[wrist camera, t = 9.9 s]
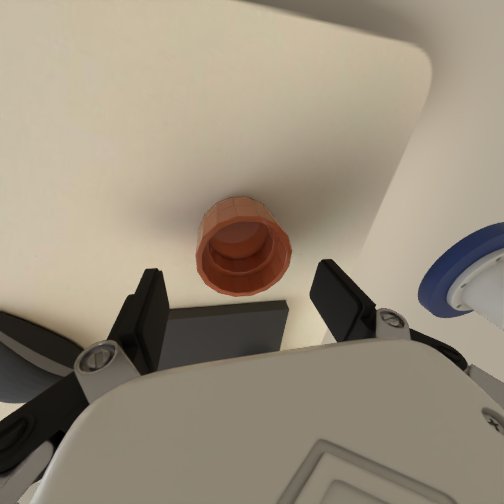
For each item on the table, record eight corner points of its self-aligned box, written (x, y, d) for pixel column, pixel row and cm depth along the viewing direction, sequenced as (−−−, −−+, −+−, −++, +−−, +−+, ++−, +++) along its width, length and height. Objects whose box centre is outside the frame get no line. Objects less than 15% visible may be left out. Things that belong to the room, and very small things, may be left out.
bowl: (279, 196, 17) (299, 215, 13) (269, 262, 20) (283, 293, 16) (196, 194, 16) (191, 215, 12) (201, 265, 19) (199, 299, 15)
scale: (285, 300, 24) (294, 320, 21) (271, 365, 31) (276, 386, 28) (140, 312, 21) (130, 337, 18) (162, 381, 28) (157, 406, 25)
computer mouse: (-1, 298, 17) (-53, 339, 14) (109, 361, 24) (92, 399, 20) (-66, 329, 18) (-131, 377, 14) (59, 383, 24) (35, 423, 21)
